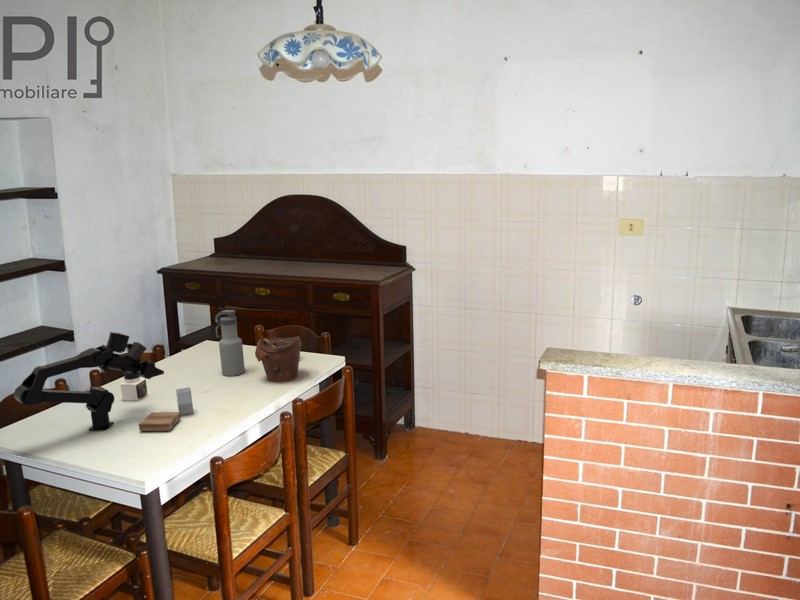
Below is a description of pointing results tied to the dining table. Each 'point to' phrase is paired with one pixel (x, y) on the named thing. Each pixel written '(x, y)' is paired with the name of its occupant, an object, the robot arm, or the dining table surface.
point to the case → (279, 357)
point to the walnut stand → (160, 421)
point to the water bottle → (230, 344)
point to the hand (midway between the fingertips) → (157, 370)
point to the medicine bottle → (133, 387)
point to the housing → (184, 401)
